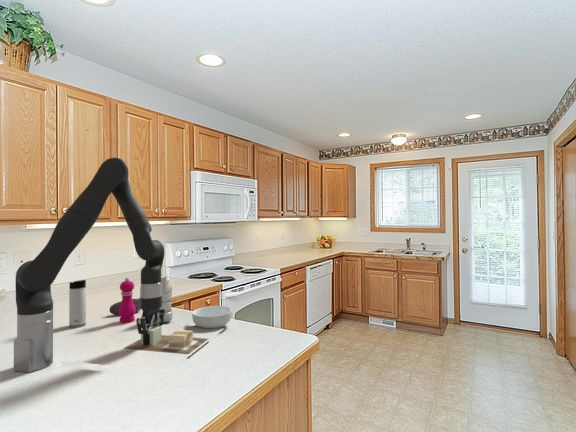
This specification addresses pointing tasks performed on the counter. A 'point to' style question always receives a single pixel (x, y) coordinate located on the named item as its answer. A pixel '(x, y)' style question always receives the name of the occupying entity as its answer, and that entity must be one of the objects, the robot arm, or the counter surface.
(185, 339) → the maple block
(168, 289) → the plastic bottle
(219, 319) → the cereal bowl
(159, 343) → the brown flat wooden board
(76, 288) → the travel mug
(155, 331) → the sage block
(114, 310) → the perforated stone tool
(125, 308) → the pepper mill
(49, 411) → the counter surface
